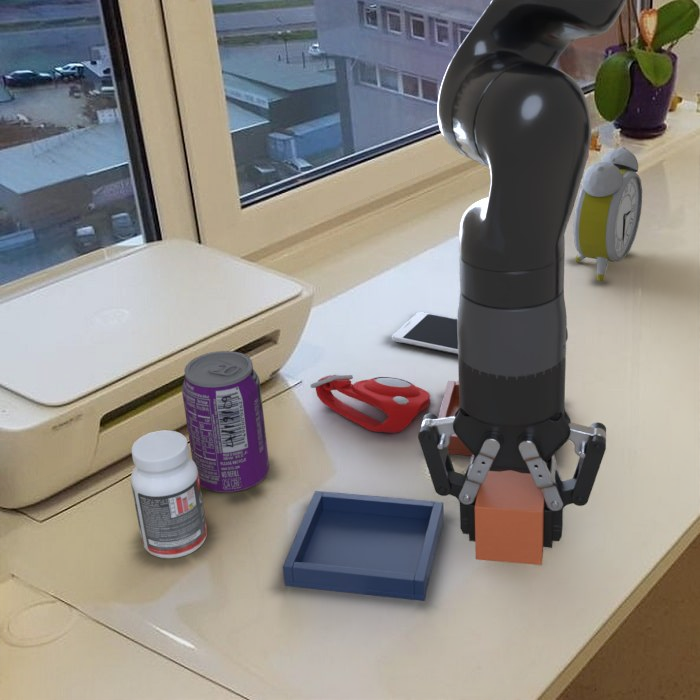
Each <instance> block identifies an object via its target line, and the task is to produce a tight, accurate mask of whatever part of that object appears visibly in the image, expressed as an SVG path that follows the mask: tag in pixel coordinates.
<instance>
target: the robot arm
mask: <svg viewBox="0 0 700 700" xmlns="http://www.w3.org/2000/svg"><path fill="white" fill-rule="evenodd" d="M626 3H627V0H491V1H490V3H489V4H488V6H487V7H486V8H485V10H484V12H483V13H482V14H481V15H480V17H479V19H477V21H476V23H475V24H474V26H473V27H472V28H471V30H470V31H469V33H468V34H467V35H466V37H465V38H464V40H463V41H462V43H461V44H460V45H459V47H458V48H457V50H456V52H455V54H454V55H453V57H452V58H451V60H450V62H449V63H448V66H447V68H446V71H445V73H444V76H443V79H442V82H441V85H440V88H439V93H438V99H437V122H438V127H439V131H440V133H441V135H442V137H443V139H444V140H445V142H447V144H448V145H449V146H450V147H451V148H452V149H453V150H455V151H456V152H457V153H459V154H460V155H463V156H464V157H466V158H469V159H470V160H473V161H475V162H477V163H479V164H481V165H483V166H485V167H487V168H489V173H490V189H489V194H488V197H485V198H482V199H480V200H478V201H476V202H474V203H472V204H471V205H470V206H469V207H468V208H467V209H466V210H465V212H464V213H463V214H462V216H461V221H460V224H459V229H458V264H459V265H458V267H459V268H458V269H459V270H458V271H459V298H458V306H457V315H456V319H457V334H458V355H457V365H458V367H457V368H458V370H457V371H458V382H459V409H458V410H457V412H456V414H455V416H454V417H447V418H440V419H438V415H436V414H435V413H432V412H430V413H429V412H428V413H426V414H424V415H423V418H422V421H421V423H420V428H419V431H418V434H417V438H418V441H419V442H418V443H419V445H420V448H421V452H422V455H423V457H424V460H425V464H426V466H427V470H428V473H429V475H430V480H431V482H432V485H433V488H434V491H435V493H436V495H438V496H440V497H446V496H448V495H450V496H452V497H454V498H456V499H457V500H458V503H459V522H460V528H459V529H460V531H461V533H462V534H463V535H468V541H469V542H475V502H476V497H477V494H478V491H479V489H480V487H481V485H483V483H484V480H485V478H486V476H487V474H488V472H489V471H498V472H500V471H507V470H513V471H516V472H520V473H529V474H531V475H532V478H533V480H534V482H535V485H536V487H537V489H540V491H541V493H542V496H543V498H544V500H545V504H544V529H543V547H544V548H547V549H548V548H550V549H553V542H560V541H561V539H562V536H563V525H564V523H563V522H564V508H565V507H566V506H568V505H575V506H577V507H583V506H585V505H587V504H588V502H589V499H590V496H591V494H592V490H593V488H594V484H595V481H596V479H597V476H598V473H599V471H600V468H601V464H602V462H603V458H604V456H605V453H606V451H607V450H606V449H607V427H606V425H605V424H604V423H602V422H598V421H597V422H594V423H592V424H590V426H588V425H587V426H586V425H582V424H579V423H575V422H572V421H571V417H570V416H569V415H568V413H567V411H566V407H565V403H566V402H565V401H566V400H565V399H566V368H567V367H566V365H567V364H566V363H567V362H566V361H567V357H566V356H567V341H568V337H569V334H568V333H569V332H568V327H567V325H568V322H567V317H568V316H567V307H566V302H565V301H566V300H565V258H566V257H565V256H566V255H565V253H566V252H565V251H566V245H565V243H566V242H565V241H566V240H565V232H566V230H567V228H568V224H569V221H570V219H571V215H572V213H573V211H574V207H575V204H576V201H577V198H578V192H579V189H580V186H581V182H582V180H583V176H584V173H585V168H586V165H587V162H588V158H589V155H590V149H591V143H592V120H591V117H592V116H591V113H590V108H589V104H588V101H587V98H586V96H585V95H586V94H585V93H584V91H583V89H582V88H581V86H580V85H579V83H578V82H577V80H576V79H574V78H573V77H572V76H571V75H570V74H568V73H567V72H564V71H563V70H561V69H559V68H556V67H554V65H555V64H556V62H557V61H558V59H559V58H560V56H561V55H562V54H563V52H564V51H565V50H566V49H567V48H568V46H570V44H572V43H573V42H575V41H577V40H581V39H587V38H594V37H598V36H602V35H603V34H605V33H607V32H608V31H609V30H610V29H611V28H612V27H613V26H614V25H615V23H616V21H617V20H618V18H619V16H620V14H621V13H622V11H623V10H624V7H625V5H626ZM454 433H455V434H456V435H457V436H458V438H459V439H460V440H461V441H462V442H463V443H464V445H465V446H466V447H467V448H468V449H469V451H470V452H471V453H472V455H471V456H470V460H469V462H468V465H467V467H466V469H465V472H464V473H460V472H457V471H455V467H454V464H453V461H452V457H451V454H449V451H448V448H447V446H448V445H449V443H450V439H451V435H452V434H454ZM568 440H569V441H571V442H572V444H573V445H574V448H573V451H574V453H575V455H577V456H578V457H579V458H578V461H577V464H576V467H575V470H574V473H573V476H572V478H570V479H565V480H563V478H562V476H561V473H560V470H559V469H558V468H559V467H558V466H557V460H556V456H555V457H554V454H555V455H556V453H557V452H558V451H559V450H560V449H561V448H562V447H563V446H564V444H565V443H567V442H568Z"/></svg>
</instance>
